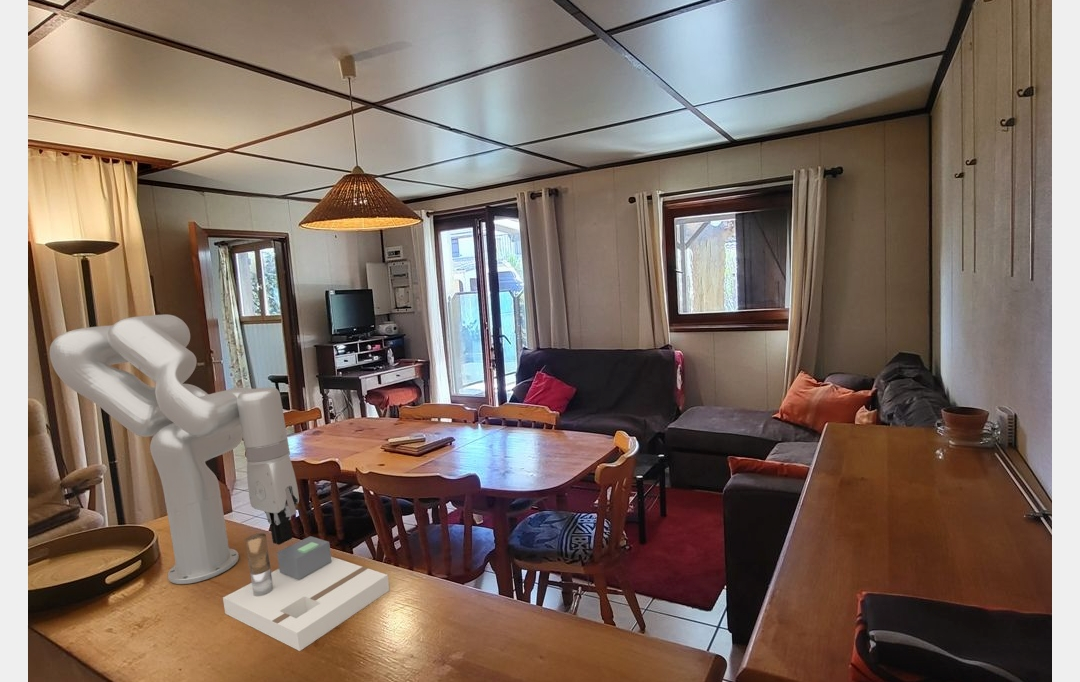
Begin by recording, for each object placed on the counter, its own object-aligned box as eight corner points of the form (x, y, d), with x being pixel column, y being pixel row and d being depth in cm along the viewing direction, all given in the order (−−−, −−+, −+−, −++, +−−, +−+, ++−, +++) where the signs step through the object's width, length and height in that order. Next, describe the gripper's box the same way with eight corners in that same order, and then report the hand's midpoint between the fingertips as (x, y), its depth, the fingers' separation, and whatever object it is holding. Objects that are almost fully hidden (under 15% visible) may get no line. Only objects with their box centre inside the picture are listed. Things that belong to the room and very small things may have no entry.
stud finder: (279, 572, 101) (276, 550, 101) (312, 555, 107) (310, 534, 107) (298, 579, 98) (295, 556, 98) (331, 561, 104) (328, 539, 104)
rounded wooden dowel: (249, 593, 95) (241, 539, 94) (266, 584, 98) (259, 532, 97) (259, 598, 93) (251, 543, 92) (277, 588, 96) (269, 535, 95)
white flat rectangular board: (225, 613, 95) (222, 597, 95) (315, 564, 110) (313, 550, 110) (299, 651, 83) (297, 632, 83) (389, 590, 98) (387, 574, 98)
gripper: (228, 454, 106) (244, 543, 107) (271, 460, 97) (287, 556, 99) (265, 443, 112) (279, 527, 114) (308, 447, 104) (322, 538, 105)
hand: (283, 540), depth 106 cm, fingers closed
